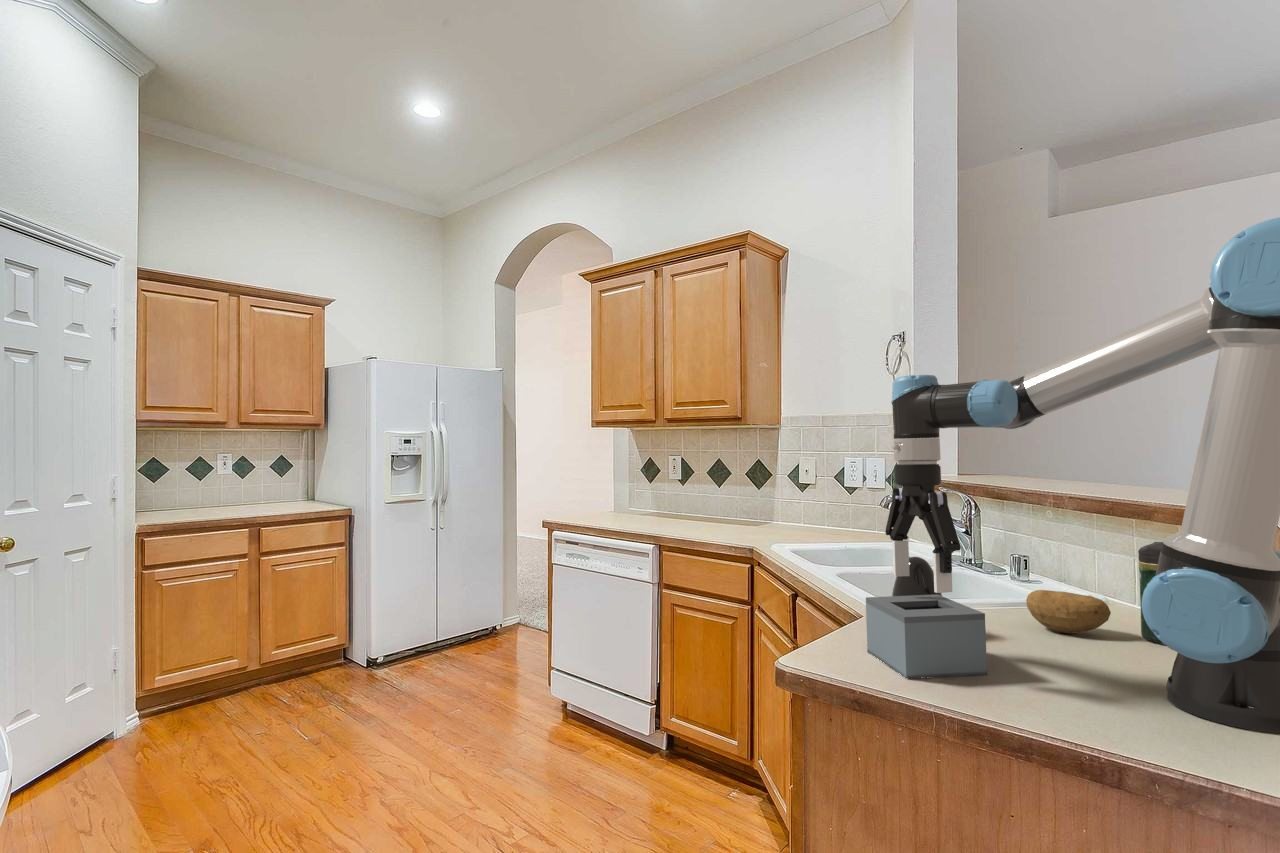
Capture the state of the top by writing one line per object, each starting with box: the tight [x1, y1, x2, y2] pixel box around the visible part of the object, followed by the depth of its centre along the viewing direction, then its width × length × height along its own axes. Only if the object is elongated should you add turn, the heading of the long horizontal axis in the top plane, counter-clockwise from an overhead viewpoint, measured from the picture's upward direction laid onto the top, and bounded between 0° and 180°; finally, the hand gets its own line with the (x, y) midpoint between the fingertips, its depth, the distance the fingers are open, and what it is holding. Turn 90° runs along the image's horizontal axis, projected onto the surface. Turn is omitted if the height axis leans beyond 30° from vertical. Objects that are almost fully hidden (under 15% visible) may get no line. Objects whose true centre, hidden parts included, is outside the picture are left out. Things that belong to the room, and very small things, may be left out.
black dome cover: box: [891, 556, 943, 597], centre depth 129 cm, size 10×10×15 cm
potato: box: [1025, 589, 1112, 634], centre depth 127 cm, size 10×14×8 cm
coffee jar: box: [1137, 541, 1166, 646], centre depth 121 cm, size 10×8×19 cm
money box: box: [865, 594, 988, 679], centre depth 111 cm, size 14×14×10 cm
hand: (921, 583), depth 111 cm, fingers open, 13 cm apart
